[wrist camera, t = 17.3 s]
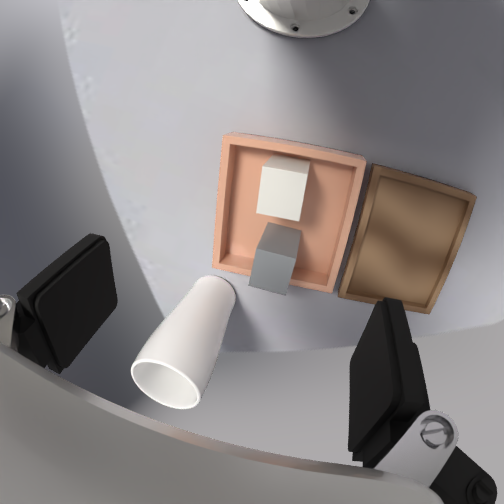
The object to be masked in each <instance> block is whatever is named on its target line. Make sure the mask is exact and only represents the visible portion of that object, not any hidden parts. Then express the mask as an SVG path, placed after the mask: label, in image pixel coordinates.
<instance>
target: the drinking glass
mask: <svg viewBox="0 0 504 504" xmlns="http://www.w3.org/2000/svg"><path fill="white" fill-rule="evenodd" d="M235 300H236V297H235V292H234V290H233V288H232V286H231V285H230V284H229V283H228V282H227V281H226V280H224V279H223V278H220V277H218V276H213V275H208V276H203V277H201V278H199V279H198V280H197V281H196V282H195V283H194V285H193V286H192V288H191V289H190V290H189V292H188V293H187V294H186V295H185V296H184V297H183V299H182V300H181V301H180V302H179V303H178V304H177V306H176V307H175V308H174V309H173V310H172V311H171V313H170V314H169V315H168V316H167V317H166V318H165V319H164V321H163V322H162V323H161V324H160V325H159V326H158V328H157V329H156V330H155V331H154V332H153V334H152V335H151V336H150V338H149V339H148V340H147V342H146V343H145V345H144V346H143V348H142V349H141V351H140V353H139V354H138V356H137V358H136V359H135V362H134V363H133V365H132V367H131V374H132V377H133V379H134V381H135V383H136V384H137V386H138V387H139V388H140V389H141V390H142V391H143V392H144V393H145V394H146V395H148V396H149V397H150V398H152V399H153V400H155V401H157V402H159V403H161V404H163V405H166V406H169V407H172V408H177V409H188V408H192V407H195V406H196V405H198V403H199V402H200V400H201V398H202V396H203V394H204V392H205V390H206V388H207V386H208V383H209V381H210V379H211V376H212V374H213V371H214V368H215V365H216V362H217V358H218V355H219V352H220V348H221V345H222V341H223V338H224V334H225V331H226V327H227V324H228V321H229V318H230V314H231V311H232V309H233V307H234V304H235Z"/></svg>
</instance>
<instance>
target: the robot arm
mask: <svg viewBox="0 0 504 504" xmlns="http://www.w3.org/2000/svg"><path fill="white" fill-rule="evenodd" d="M237 1H238V3H239V4H240V6H241V7H242V8H243V10H244V11H245V12H246V13H247V14H248V15H249V16H250V17H251V18H252V19H253V20H254V21H256V22H257V23H258V24H260V25H261V26H263V27H265V28H267V29H269V30H271V31H273V32H276V33H279V34H282V35H285V36H291V37H297V38H315V37H323V36H327V35H331V34H334V33H337V32H339V31H341V30H343V29H345V28H348V27H349V26H350V25H352V24H353V23H354V22H356V21H357V20H358V19H359V18H360V16H361V15H362V14H363V13H364V11H365V9H366V8H367V6H368V3H369V1H370V0H249V1H247V2H245V0H237ZM350 11H353V12H354V13H355V14H354V15H352V14H350V13H349V12H350ZM295 27H297V28H298V29H299V30H298V31H293V28H295ZM17 296H18V299H19V301H18V302H17V303H16V301H15V300H14V298H13V297H11V296H9V295H0V504H495V501H496V497H497V487H496V484H495V482H494V480H493V479H492V477H491V476H490V475H489V474H487V473H486V472H485V471H484V470H483V469H482V468H481V467H479V466H478V465H477V464H476V463H475V462H474V461H473V460H472V459H470V458H469V457H468V456H467V455H466V454H465V453H464V452H462V450H460V449H459V448H458V447H457V446H456V444H457V441H458V430H457V426H456V424H455V423H454V421H453V420H452V419H451V418H450V417H449V416H448V415H447V414H445V413H443V412H441V411H437V410H430V406H429V399H428V394H427V389H426V383H425V379H424V374H423V369H422V364H421V360H420V355H419V351H418V348H417V345H416V344H415V343H413V342H412V337H411V333H410V329H409V325H408V321H407V317H406V314H405V310H404V306H403V303H402V301H401V300H398V299H393V298H388V297H385V298H384V299H383V300H382V301H379V300H378V301H377V302H376V305H375V307H374V309H373V312H372V314H371V316H370V318H369V321H368V323H367V325H366V328H365V330H364V332H363V334H362V336H361V338H360V341H359V343H358V345H357V347H356V349H355V351H354V353H353V355H352V358H351V361H350V404H349V405H350V406H349V437H348V438H349V439H348V451H349V452H353V457H352V461H361V462H363V467H357V466H350V465H343V464H336V463H328V462H320V461H313V460H307V459H301V458H295V457H290V456H284V455H280V454H274V453H269V452H264V451H259V450H255V449H250V448H246V447H242V446H237V445H234V444H230V443H226V442H222V441H219V440H215V439H211V438H208V437H204V436H201V435H198V434H195V433H192V432H188V431H185V430H182V429H179V428H176V427H173V426H170V425H167V424H165V423H162V422H159V421H156V420H154V419H151V418H148V417H145V416H143V415H140V414H138V413H135V412H133V411H131V410H128V409H126V408H123V407H121V406H119V405H116V404H114V403H112V402H109V401H107V400H105V399H103V398H101V397H99V396H96V395H94V394H92V393H90V392H88V391H86V390H84V389H82V388H80V387H78V386H76V385H74V384H72V383H70V382H68V381H66V380H64V379H62V378H61V377H59V376H57V375H55V374H53V373H51V372H50V371H48V370H46V369H45V367H46V365H48V367H49V369H51V370H53V371H55V372H56V373H58V374H60V373H61V372H62V370H63V369H64V368H67V367H68V366H70V364H71V363H72V362H73V360H74V359H75V357H76V356H77V355H78V354H79V353H80V351H81V350H82V349H83V348H84V346H85V345H86V344H87V343H88V341H89V340H90V339H91V338H92V336H93V335H94V334H95V332H96V331H97V330H98V328H100V326H101V325H102V324H103V323H104V322H105V320H106V319H107V318H108V317H109V315H110V314H111V313H112V312H113V311H114V309H115V308H116V306H117V294H116V288H115V282H114V276H113V269H112V263H111V256H110V247H109V243H108V242H107V241H106V239H105V237H104V236H100V235H96V234H88V235H87V236H86V237H84V238H83V239H82V240H80V241H79V242H78V243H76V244H75V245H74V246H73V247H71V248H70V249H69V250H68V251H66V252H65V253H64V254H62V255H61V256H60V257H59V258H57V259H56V260H55V261H54V262H53V263H51V264H50V265H49V266H48V267H46V268H45V269H44V270H43V271H42V272H40V273H39V274H38V275H37V276H36V277H34V278H33V279H32V280H31V281H30V282H29V283H28V284H26V285H25V286H24V287H23V288H22V289H21V290H19V291H18V292H17Z"/></svg>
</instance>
